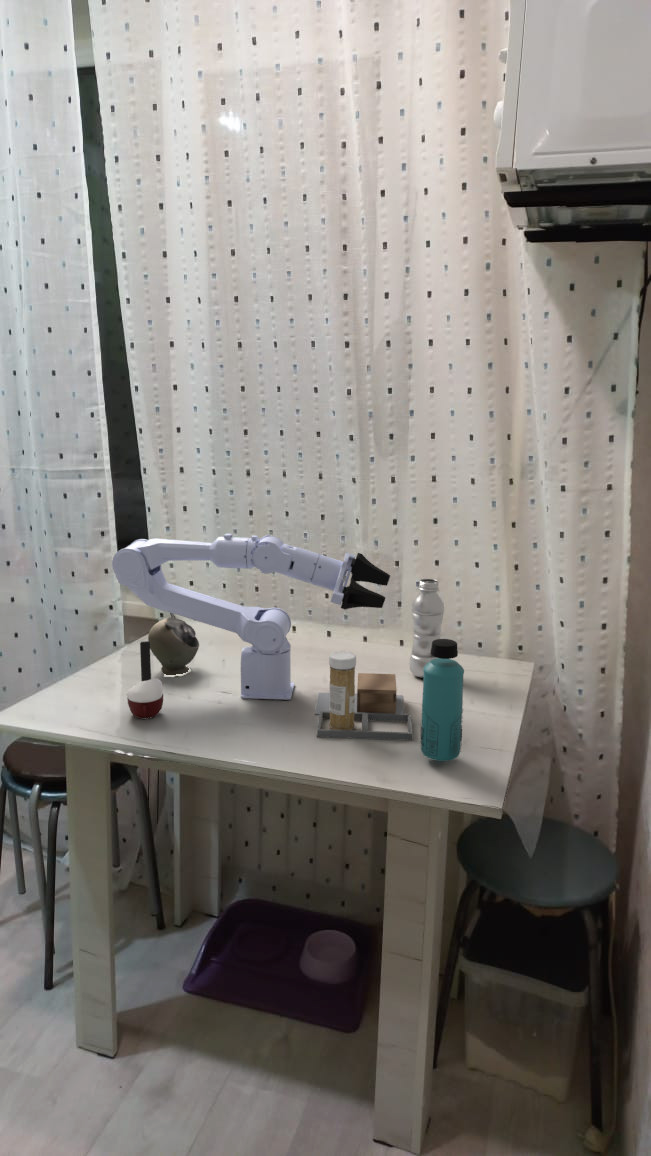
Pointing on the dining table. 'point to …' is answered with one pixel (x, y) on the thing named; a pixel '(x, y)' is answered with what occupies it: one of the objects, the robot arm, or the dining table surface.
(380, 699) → the cardboard box
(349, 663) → the spice jar
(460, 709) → the beverage bottle
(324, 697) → the board
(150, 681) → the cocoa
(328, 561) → the robot arm
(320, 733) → the socket frames
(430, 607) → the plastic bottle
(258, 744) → the dining table surface
